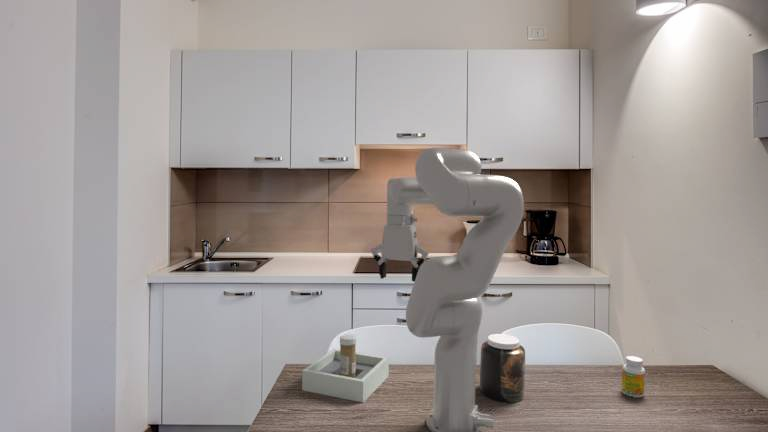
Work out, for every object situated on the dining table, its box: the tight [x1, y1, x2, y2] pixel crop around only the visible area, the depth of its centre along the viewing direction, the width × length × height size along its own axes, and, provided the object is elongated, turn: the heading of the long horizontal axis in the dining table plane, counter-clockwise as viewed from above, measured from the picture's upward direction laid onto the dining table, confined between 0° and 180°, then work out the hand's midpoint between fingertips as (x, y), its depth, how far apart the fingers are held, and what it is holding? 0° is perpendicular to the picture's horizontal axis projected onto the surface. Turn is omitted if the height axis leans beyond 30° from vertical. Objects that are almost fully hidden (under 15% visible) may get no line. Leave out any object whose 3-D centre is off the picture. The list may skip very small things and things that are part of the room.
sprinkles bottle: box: [339, 333, 357, 378], centre depth 132 cm, size 5×5×13 cm
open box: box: [301, 348, 390, 403], centre depth 132 cm, size 18×18×6 cm
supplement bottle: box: [621, 355, 646, 398], centre depth 128 cm, size 5×5×10 cm
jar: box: [479, 333, 526, 404], centre depth 127 cm, size 12×12×15 cm
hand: (398, 279), depth 138 cm, fingers open, 9 cm apart
